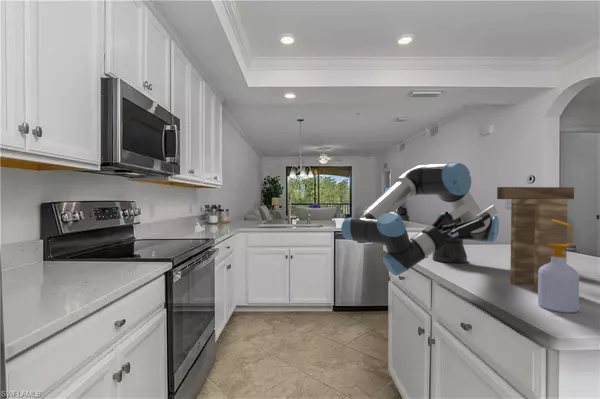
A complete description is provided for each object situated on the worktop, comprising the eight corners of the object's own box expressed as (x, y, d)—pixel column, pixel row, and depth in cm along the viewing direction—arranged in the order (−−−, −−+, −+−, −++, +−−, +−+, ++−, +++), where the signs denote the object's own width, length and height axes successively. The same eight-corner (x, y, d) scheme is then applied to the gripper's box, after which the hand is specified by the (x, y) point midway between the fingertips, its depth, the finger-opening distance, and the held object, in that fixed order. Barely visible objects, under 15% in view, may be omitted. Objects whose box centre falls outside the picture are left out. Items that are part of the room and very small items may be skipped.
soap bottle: (539, 300, 102) (540, 218, 101) (578, 307, 96) (580, 219, 96) (536, 308, 95) (537, 220, 94) (578, 315, 89) (580, 221, 89)
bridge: (510, 283, 121) (511, 198, 121) (534, 282, 123) (535, 198, 122) (539, 293, 109) (540, 199, 109) (565, 291, 111) (567, 199, 111)
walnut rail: (497, 199, 115) (497, 187, 115) (562, 199, 120) (563, 187, 120) (506, 199, 111) (506, 187, 111) (573, 199, 116) (574, 187, 116)
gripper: (414, 245, 122) (461, 215, 124) (457, 258, 97) (515, 220, 100) (404, 227, 121) (451, 197, 124) (445, 236, 96) (503, 198, 99)
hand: (480, 207), depth 112 cm, fingers open, 13 cm apart
